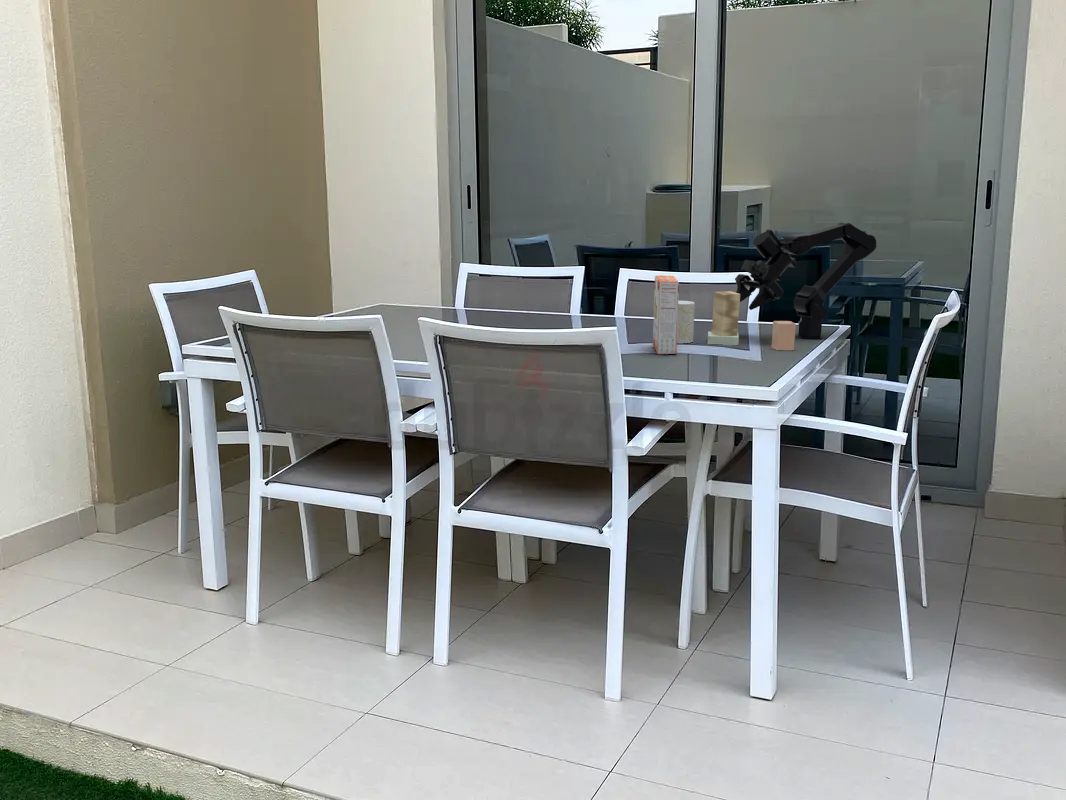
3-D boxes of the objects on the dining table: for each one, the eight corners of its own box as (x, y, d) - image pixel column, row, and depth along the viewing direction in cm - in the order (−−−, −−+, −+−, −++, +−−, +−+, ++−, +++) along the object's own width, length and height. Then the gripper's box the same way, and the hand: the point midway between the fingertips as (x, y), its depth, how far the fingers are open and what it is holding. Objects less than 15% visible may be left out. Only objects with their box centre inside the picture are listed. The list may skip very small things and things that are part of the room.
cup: (676, 345, 306) (677, 304, 303) (660, 340, 313) (662, 301, 310) (698, 343, 310) (700, 303, 307) (682, 338, 317) (684, 299, 314)
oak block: (727, 332, 314) (730, 291, 311) (737, 335, 309) (740, 294, 306) (711, 332, 312) (714, 291, 309) (721, 336, 307) (724, 294, 304)
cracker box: (651, 346, 303) (654, 275, 299) (671, 346, 303) (675, 275, 299) (655, 355, 290) (658, 280, 285) (676, 355, 290) (680, 280, 285)
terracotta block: (787, 348, 304) (789, 321, 302) (793, 351, 299) (795, 323, 297) (771, 348, 303) (773, 321, 301) (777, 351, 298) (778, 323, 296)
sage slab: (737, 342, 315) (738, 332, 314) (738, 347, 306) (738, 337, 306) (707, 341, 316) (708, 331, 316) (707, 346, 308) (707, 336, 307)
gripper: (741, 247, 317) (709, 285, 316) (776, 253, 300) (742, 292, 299) (762, 272, 322) (730, 309, 321) (798, 278, 305) (764, 318, 304)
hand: (741, 306), depth 311 cm, fingers open, 9 cm apart
